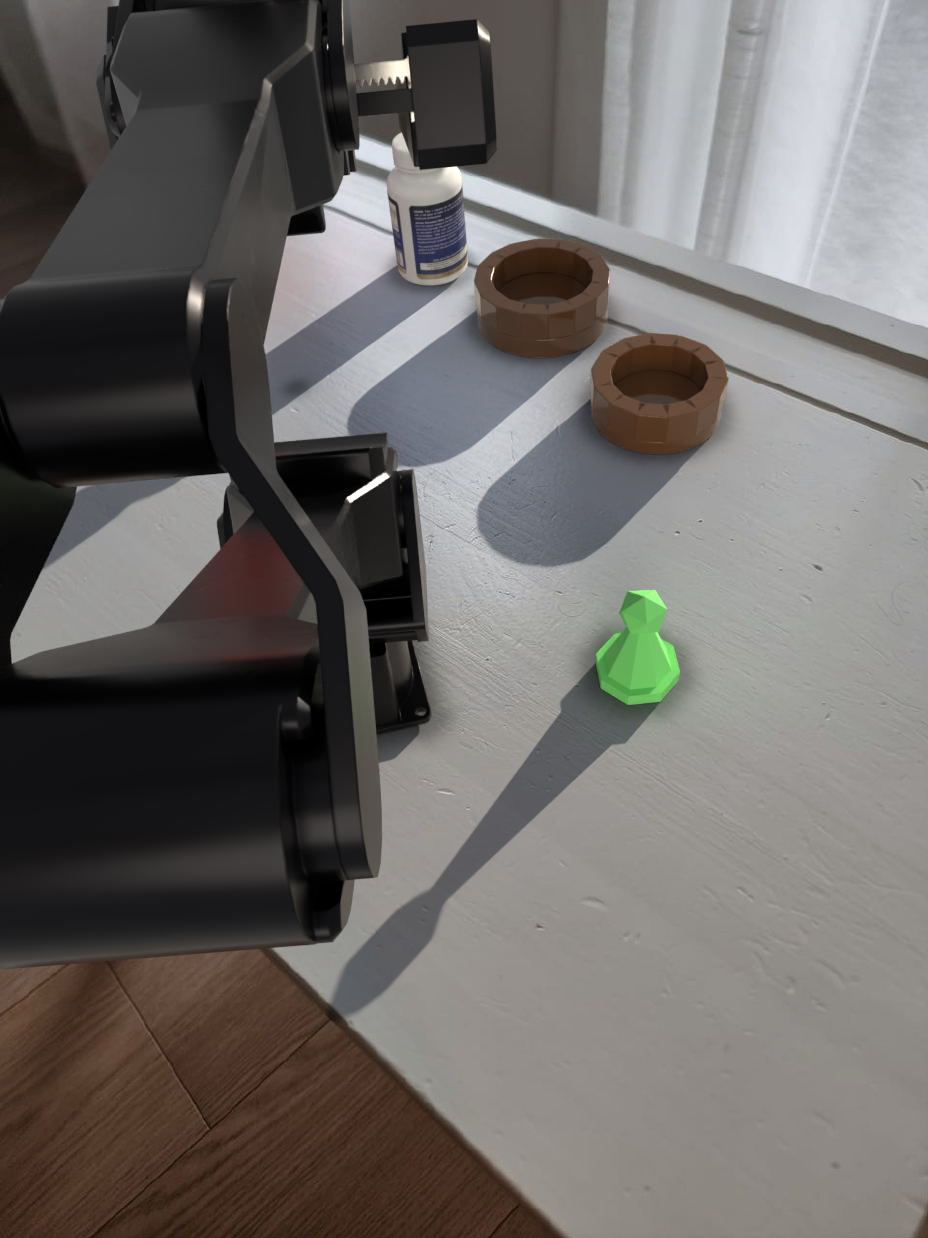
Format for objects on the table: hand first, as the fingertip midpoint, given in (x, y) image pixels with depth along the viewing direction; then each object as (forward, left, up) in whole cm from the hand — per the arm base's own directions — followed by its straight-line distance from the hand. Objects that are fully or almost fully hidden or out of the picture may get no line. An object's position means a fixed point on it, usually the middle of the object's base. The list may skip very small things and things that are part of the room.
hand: (320, 113), depth 56 cm
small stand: (-11, -17, -17) cm, 27 cm away
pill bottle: (+10, -7, -17) cm, 21 cm away
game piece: (-30, -9, -17) cm, 36 cm away
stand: (+1, -13, -17) cm, 21 cm away
